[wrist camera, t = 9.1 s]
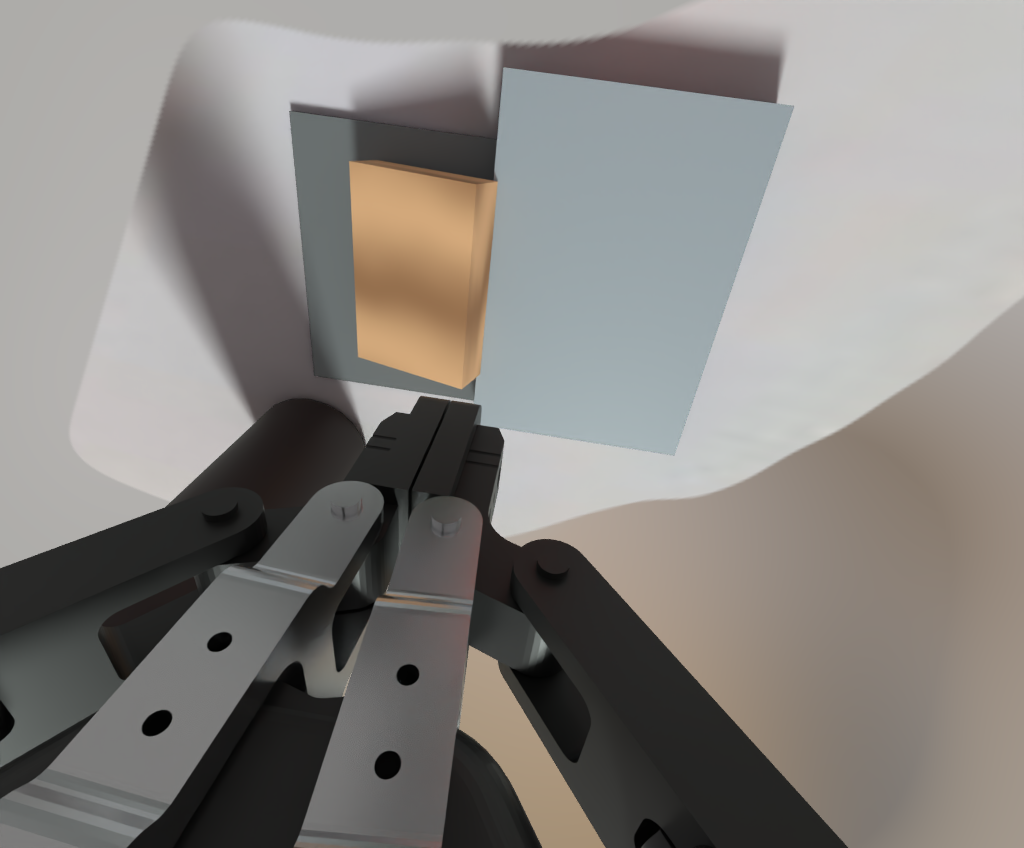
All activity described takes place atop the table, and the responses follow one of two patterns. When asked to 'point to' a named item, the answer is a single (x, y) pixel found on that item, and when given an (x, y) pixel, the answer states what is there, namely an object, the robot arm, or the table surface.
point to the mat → (329, 229)
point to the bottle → (272, 470)
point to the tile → (421, 268)
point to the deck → (614, 252)
